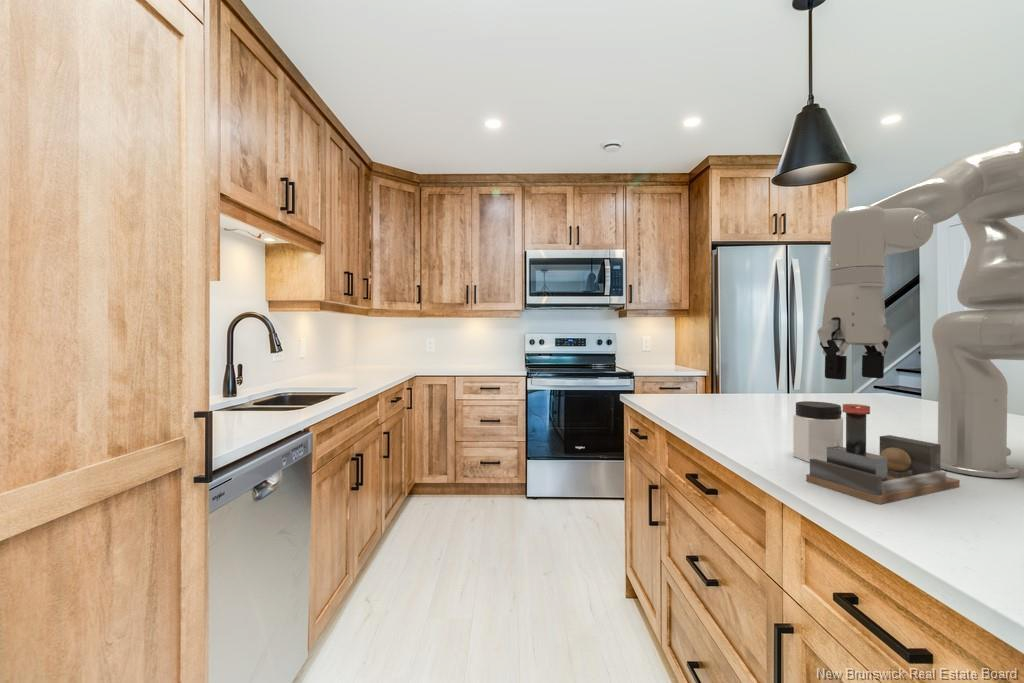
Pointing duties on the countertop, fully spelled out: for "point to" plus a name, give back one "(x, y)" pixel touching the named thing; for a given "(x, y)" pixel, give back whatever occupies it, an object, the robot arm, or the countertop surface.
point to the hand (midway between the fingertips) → (854, 378)
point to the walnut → (896, 459)
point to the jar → (816, 429)
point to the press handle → (857, 445)
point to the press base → (888, 474)
